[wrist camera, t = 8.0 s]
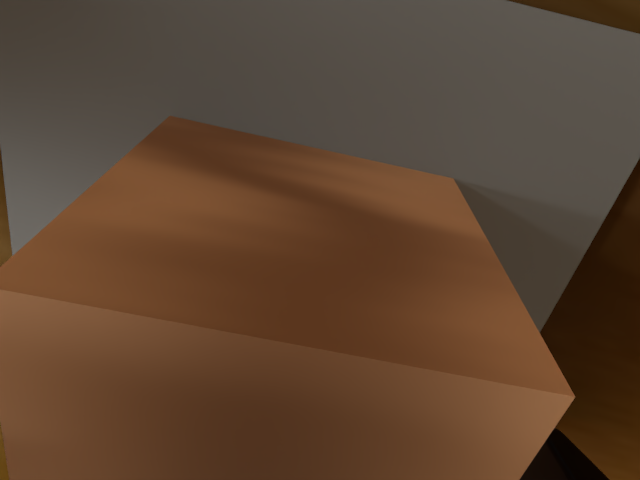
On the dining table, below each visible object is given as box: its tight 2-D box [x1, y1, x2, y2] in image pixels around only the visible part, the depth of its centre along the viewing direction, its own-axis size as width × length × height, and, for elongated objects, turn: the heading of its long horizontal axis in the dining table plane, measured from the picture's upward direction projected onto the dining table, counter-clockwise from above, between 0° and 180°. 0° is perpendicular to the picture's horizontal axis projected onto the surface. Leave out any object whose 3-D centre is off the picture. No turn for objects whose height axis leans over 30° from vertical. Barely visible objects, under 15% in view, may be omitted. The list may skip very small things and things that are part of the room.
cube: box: [0, 116, 575, 480], centre depth 9 cm, size 6×6×6 cm
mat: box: [0, 0, 640, 333], centre depth 12 cm, size 13×13×1 cm
